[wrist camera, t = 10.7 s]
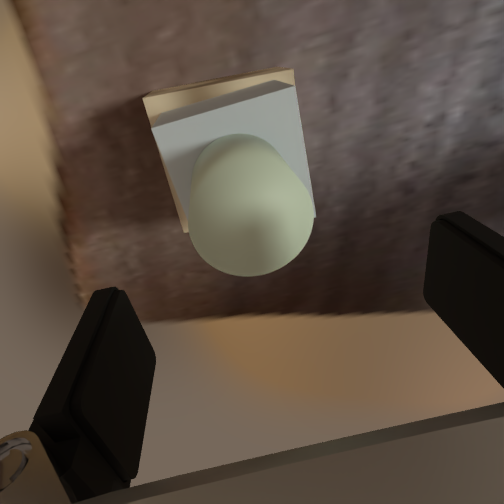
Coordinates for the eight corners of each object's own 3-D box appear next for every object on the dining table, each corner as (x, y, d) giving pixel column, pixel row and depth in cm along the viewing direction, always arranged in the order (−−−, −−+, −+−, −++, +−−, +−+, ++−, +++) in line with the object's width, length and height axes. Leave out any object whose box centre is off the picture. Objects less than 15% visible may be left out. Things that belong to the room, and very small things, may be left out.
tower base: (276, 66, 24) (293, 69, 19) (288, 184, 28) (305, 207, 24) (152, 90, 23) (142, 98, 19) (186, 206, 28) (183, 233, 24)
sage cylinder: (282, 125, 16) (310, 150, 12) (290, 217, 19) (316, 264, 14) (180, 143, 16) (173, 174, 12) (203, 233, 19) (203, 286, 14)
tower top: (274, 79, 20) (294, 85, 15) (294, 187, 23) (316, 217, 19) (161, 112, 20) (151, 128, 15) (199, 215, 23) (199, 251, 19)
